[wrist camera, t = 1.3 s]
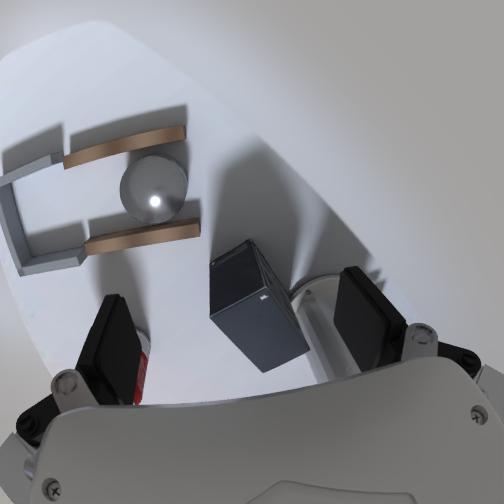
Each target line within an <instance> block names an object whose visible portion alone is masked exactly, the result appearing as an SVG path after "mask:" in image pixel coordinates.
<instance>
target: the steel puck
mask: <svg viewBox="0 0 504 504" xmlns="http://www.w3.org/2000/svg"><path fill="white" fill-rule="evenodd" d="M187 190H188V179H187V175H186V172H185V170H184V168H183V167H182V166H181V164H180V163H179V162H178V161H176V160H175V159H174V158H172V157H170V156H167V155H164V154H152V155H148V156H146V157H143V158H141V159H139V160H137V161H135V162H134V163H133V164H131V165H130V166H129V167H128V168H127V170H126V171H125V173H124V174H123V176H122V179H121V183H120V198H121V201H122V204H123V206H124V207H125V209H126V210H127V212H128V213H129V214H130V215H131V216H132V217H134V218H135V219H137V220H139V221H141V222H144V223H149V224H156V223H162V222H165V221H167V220H169V219H171V218H172V217H173V216H175V215H176V214H177V213H178V211H179V210H180V209H181V207H182V205H183V203H184V200H185V197H186V194H187Z"/></svg>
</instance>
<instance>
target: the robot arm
mask: <svg viewBox="0 0 504 504" xmlns="http://www.w3.org/2000/svg"><path fill="white" fill-rule="evenodd" d="M290 302H291V305H292V307H293V310H294V312H295V315H296V317H297V320H298V322H299V325H300V327H301V330H302V332H303V334H304V337H305V339H306V341H307V343H308V345H309V347H310V351H309V352H306V356H307V358H308V361H309V363H310V366H311V368H312V371H313V373H314V376H315V378H316V381H317V383H318V384H316V385H311V386H307V387H302V388H297V389H292V390H287V391H282V392H276V393H270V394H264V395H258V396H251V397H244V398H237V399H228V400H219V401H209V402H197V403H182V404H156V405H133V402H134V395H135V388H136V381H137V375H138V369H139V363H140V358H141V352H142V345H141V341H140V339H139V336H138V334H137V331H136V329H135V326H134V323H133V321H132V318H131V315H130V313H129V310H128V307H127V304H126V301H125V299H124V297H121V296H120V295H119V294H111V295H106V296H105V298H104V300H103V302H102V305H101V307H100V309H99V311H98V314H97V316H96V318H95V321H94V323H93V326H92V327H91V329H90V331H89V333H88V336H87V338H86V341H85V343H84V346H83V348H82V351H81V354H80V356H79V359H78V362H77V365H76V367H75V370H74V369H66V370H63V371H61V372H59V373H58V374H57V375H56V376H55V377H54V378H53V380H52V383H51V391H52V394H50V395H49V396H47V397H46V398H44V399H43V400H41V401H40V402H38V403H37V404H35V405H34V406H32V407H31V408H29V409H28V410H26V411H25V412H23V413H22V414H21V415H20V416H19V418H18V419H17V422H16V430H17V432H16V434H14V433H13V432H12V433H11V434H10V436H9V437H8V438H7V439H6V441H5V442H4V443H3V444H2V445H1V447H0V486H1V487H2V489H3V490H4V492H5V493H6V494H7V496H8V497H9V498H10V499H11V501H12V502H13V503H14V504H504V374H502V373H500V372H498V371H497V370H495V369H493V368H491V367H489V366H488V365H486V364H485V365H484V366H481V361H480V359H479V357H478V356H477V354H475V353H474V352H472V351H470V350H467V349H464V348H460V347H457V346H453V345H450V344H446V343H443V342H439V341H438V336H437V333H436V331H435V330H434V329H433V328H432V327H430V326H428V325H426V324H423V323H414V324H411V325H410V326H408V325H407V324H406V320H405V319H404V317H403V316H402V315H401V314H400V313H399V312H398V310H397V309H396V308H395V307H394V306H393V305H392V304H391V302H390V301H389V300H388V299H387V298H386V297H385V296H384V294H383V293H382V292H381V291H380V290H379V289H378V288H377V287H376V286H375V284H374V283H373V282H372V281H371V280H370V279H369V278H368V277H367V276H366V275H365V274H364V272H363V271H362V270H361V269H360V268H359V267H358V266H353V267H346V268H344V270H343V271H342V272H341V273H340V275H326V276H321V277H318V278H316V279H313V280H311V281H309V282H307V283H306V284H304V285H303V286H302V287H300V288H299V289H298V290H297V291H296V292H295V293H294V294H293V295H292V296H291V297H290Z"/></svg>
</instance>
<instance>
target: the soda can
mask: <svg viewBox="0 0 504 504" xmlns="http://www.w3.org/2000/svg"><path fill="white" fill-rule="evenodd" d="M135 329H136V331H137V334H138V336H139V339H140V341H141V345H142V352H141V358H140V363H139V369H138V375H137V381H136V388H135V395H134V402H133V405H138V404H139V403H140V402H141V400H142V395H143V388H144V382H145V376H146V370H147V365H148V359H149V354H150V349H151V345H150V341H149V339H148V338H147V336H146V335H145V334H144V333H143V332H141V331H140V330H138V329H137V328H135Z"/></svg>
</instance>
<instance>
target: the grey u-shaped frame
mask: <svg viewBox="0 0 504 504" xmlns="http://www.w3.org/2000/svg"><path fill="white" fill-rule="evenodd" d="M62 157H63V152H58V153H54V154H51V155H48V156H45V157H43V158H40V159H38V160H36V161H33V162H31V163H29V164H27V165H24V166H22V167H20V168H18V169H16V170H14V171H11V172H9V173H7V174H5V175H3V176H1V177H0V223H1V226H2V230H3V233H4V236H5V239H6V242H7V245H8V247H9V250H10V253H11V256H12V258H13V261H14V263H15V266H16V268H17V271H18V273H19V276H20V277H21V276H26V275H32V274H37V273H43V272H48V271H54V270H60V269H65V268H71V267H77V266H80V265H81V264H82V263H83V261H84V260H85V259H86V258H87V256H88V255H87V252H86V249H85V247H80V248H75V249H70V250H65V251H61V252H56V253H51V254H47V255H42V256H38V257H33V258H32V256H31V253H30V250H29V247H28V245H27V242H26V239H25V236H24V233H23V229H22V226H21V223H20V220H19V216H18V213H17V209H16V205H15V201H14V197H13V193H12V189H11V184H10V183H11V182H13V181H16V180H18V179H20V178H22V177H25V176H27V175H29V174H32V173H34V172H37V171H39V170H42V169H44V168H47V167H49V166H52V165H55V164H57V163H60V162H63V160H62Z"/></svg>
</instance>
